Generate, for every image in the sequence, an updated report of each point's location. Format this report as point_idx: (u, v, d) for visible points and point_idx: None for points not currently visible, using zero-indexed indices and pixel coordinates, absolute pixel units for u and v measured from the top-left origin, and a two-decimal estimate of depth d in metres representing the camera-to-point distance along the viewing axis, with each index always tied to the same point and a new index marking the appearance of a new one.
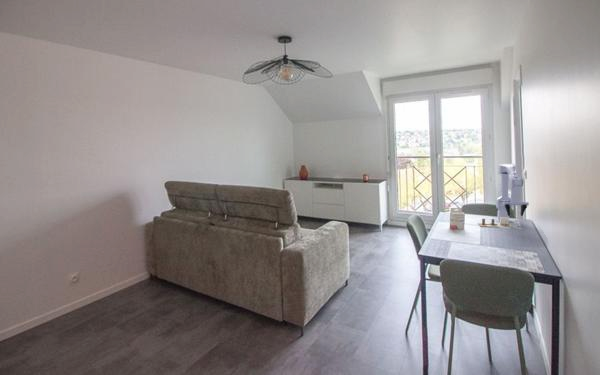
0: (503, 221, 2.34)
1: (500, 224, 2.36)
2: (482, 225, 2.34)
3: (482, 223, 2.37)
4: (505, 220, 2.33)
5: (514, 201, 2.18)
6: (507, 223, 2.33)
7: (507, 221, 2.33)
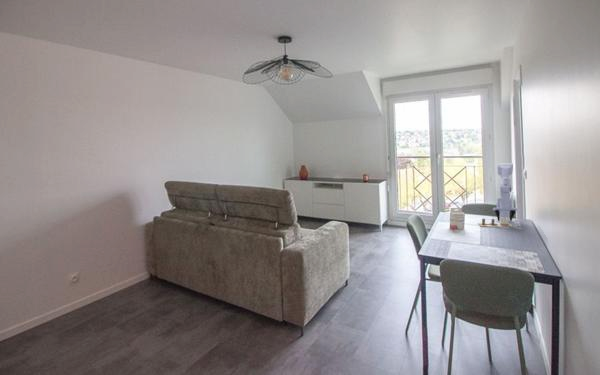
0: (503, 221, 2.34)
1: (500, 224, 2.36)
2: (482, 225, 2.34)
3: (482, 223, 2.37)
4: (505, 220, 2.33)
5: (503, 207, 2.32)
6: (507, 223, 2.33)
7: (507, 221, 2.33)
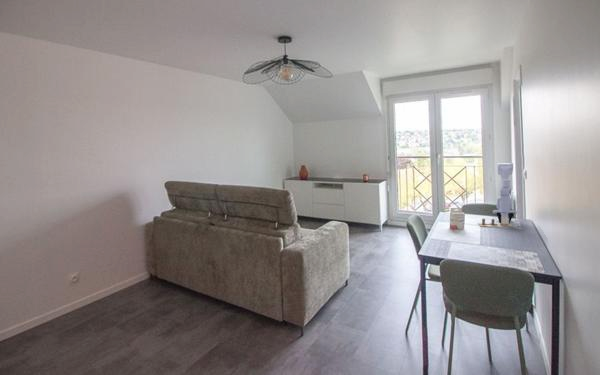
0: (503, 221, 2.34)
1: (500, 224, 2.36)
2: (482, 225, 2.34)
3: (482, 223, 2.37)
4: (505, 220, 2.33)
5: (503, 210, 2.33)
6: (507, 223, 2.33)
7: (507, 221, 2.33)
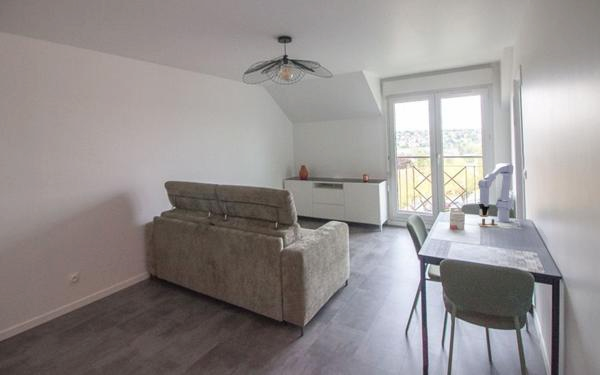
0: None
1: None
2: (482, 225, 2.34)
3: (482, 223, 2.37)
4: (479, 211, 2.37)
5: None
6: (480, 214, 2.36)
7: (480, 212, 2.36)
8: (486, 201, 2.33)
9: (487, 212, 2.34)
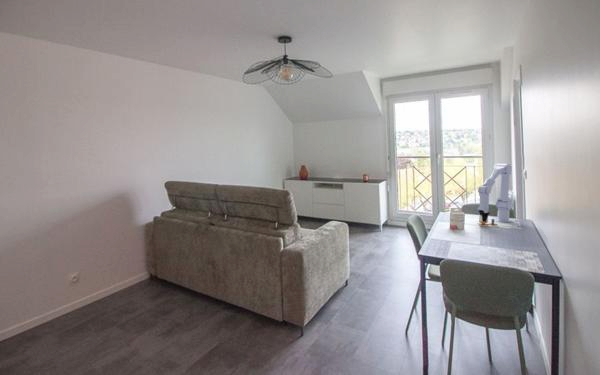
0: None
1: None
2: (482, 225, 2.34)
3: (482, 223, 2.37)
4: (479, 217, 2.38)
5: None
6: (480, 220, 2.36)
7: (480, 218, 2.36)
8: (486, 207, 2.33)
9: (487, 218, 2.35)
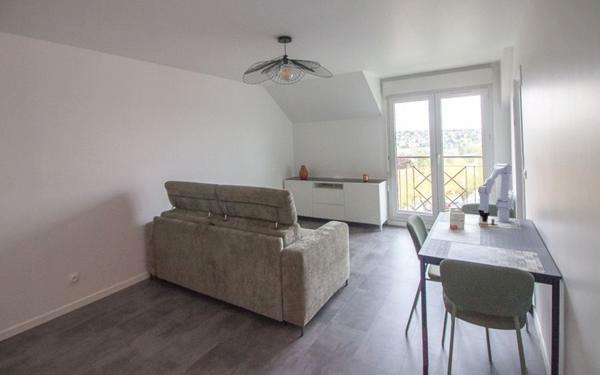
0: None
1: None
2: (482, 225, 2.34)
3: None
4: (479, 218, 2.38)
5: None
6: (480, 222, 2.37)
7: (480, 220, 2.37)
8: (486, 207, 2.33)
9: (487, 220, 2.35)
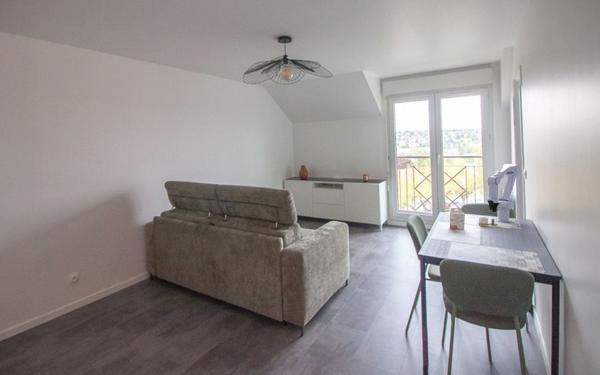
0: None
1: None
2: (482, 225, 2.34)
3: None
4: (479, 218, 2.38)
5: None
6: (480, 222, 2.37)
7: (480, 220, 2.37)
8: (495, 198, 2.36)
9: (487, 220, 2.35)
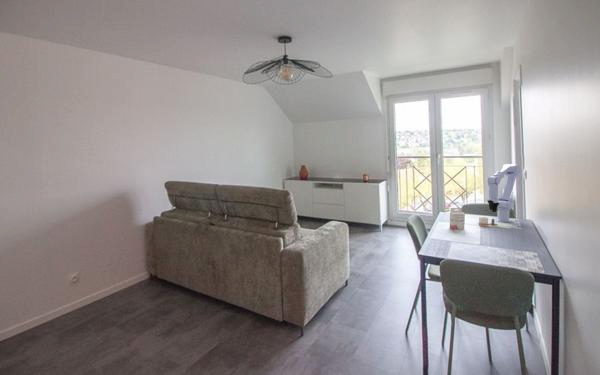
0: None
1: None
2: (482, 225, 2.34)
3: None
4: (479, 218, 2.38)
5: None
6: (480, 222, 2.37)
7: (480, 220, 2.37)
8: (495, 198, 2.36)
9: (487, 220, 2.35)
